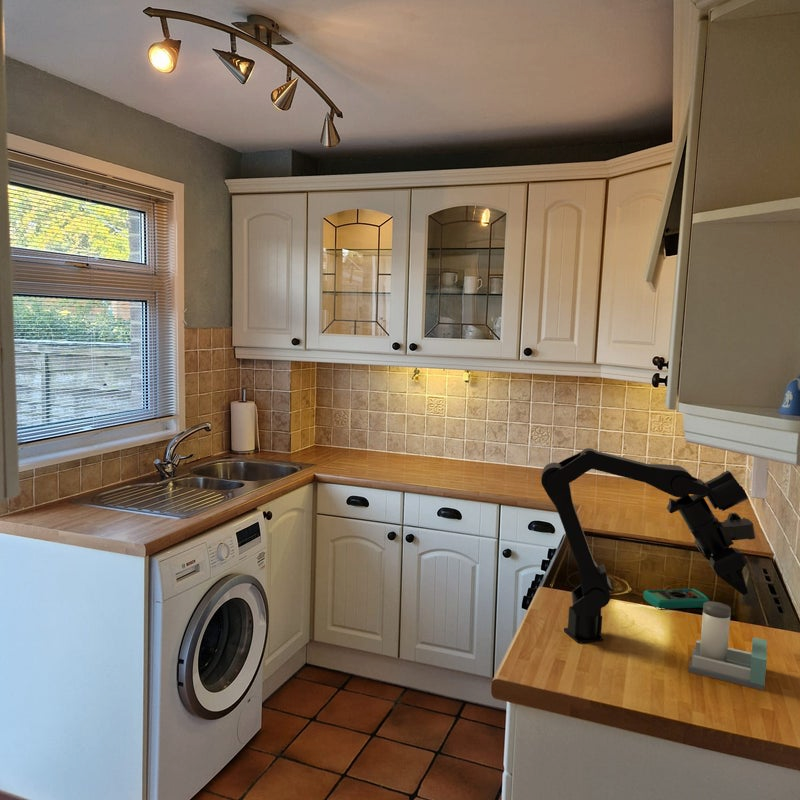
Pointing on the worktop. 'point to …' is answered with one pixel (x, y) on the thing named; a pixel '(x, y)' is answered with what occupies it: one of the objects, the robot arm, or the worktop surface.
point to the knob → (715, 631)
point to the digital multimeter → (675, 598)
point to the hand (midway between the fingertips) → (739, 586)
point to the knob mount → (734, 665)
